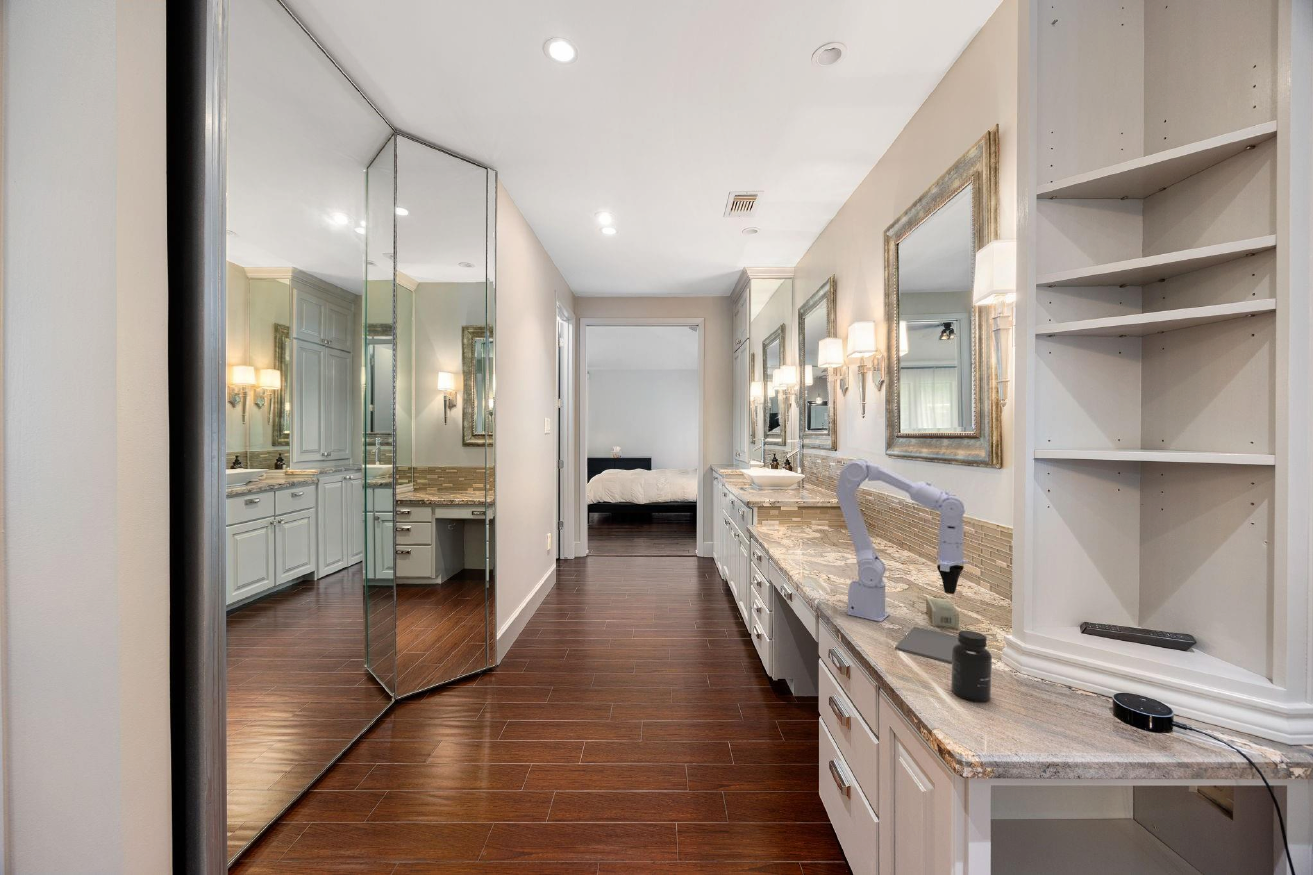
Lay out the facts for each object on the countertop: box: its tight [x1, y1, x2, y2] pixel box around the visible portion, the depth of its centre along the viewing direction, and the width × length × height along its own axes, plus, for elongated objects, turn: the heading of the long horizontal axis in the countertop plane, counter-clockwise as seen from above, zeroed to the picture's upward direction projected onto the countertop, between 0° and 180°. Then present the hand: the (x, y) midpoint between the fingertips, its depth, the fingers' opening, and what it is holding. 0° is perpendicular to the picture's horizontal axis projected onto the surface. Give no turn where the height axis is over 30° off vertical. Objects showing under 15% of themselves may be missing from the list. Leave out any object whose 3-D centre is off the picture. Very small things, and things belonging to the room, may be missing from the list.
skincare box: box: [925, 596, 960, 630], centre depth 149 cm, size 6×4×12 cm
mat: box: [894, 626, 959, 665], centre depth 131 cm, size 14×17×1 cm
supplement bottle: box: [950, 629, 993, 703], centre depth 108 cm, size 7×7×12 cm
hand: (949, 592), depth 143 cm, fingers closed
